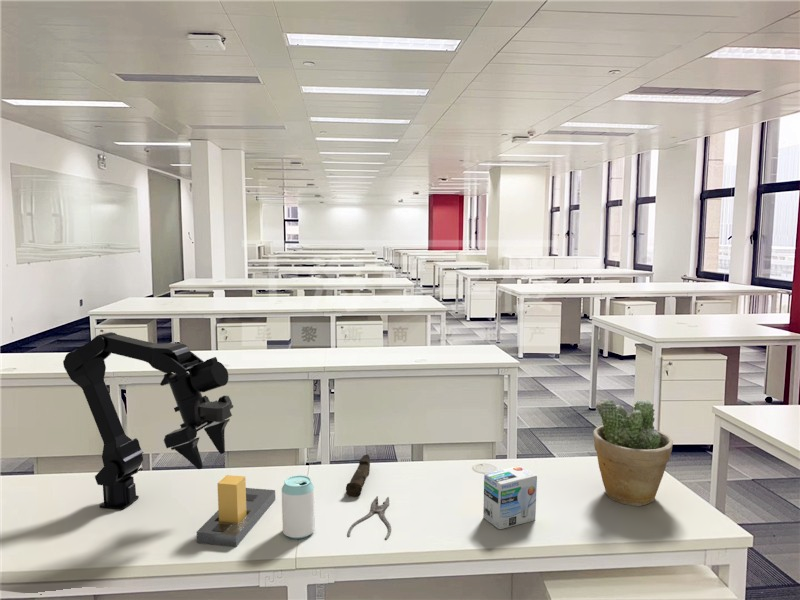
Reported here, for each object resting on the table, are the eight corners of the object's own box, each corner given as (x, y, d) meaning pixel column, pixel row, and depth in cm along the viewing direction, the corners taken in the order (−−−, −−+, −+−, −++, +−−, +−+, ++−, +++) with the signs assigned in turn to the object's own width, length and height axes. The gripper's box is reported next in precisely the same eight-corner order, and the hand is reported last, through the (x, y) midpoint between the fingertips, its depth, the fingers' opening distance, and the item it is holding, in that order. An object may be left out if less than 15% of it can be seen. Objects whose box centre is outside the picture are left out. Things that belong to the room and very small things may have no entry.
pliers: (346, 539, 128) (350, 496, 147) (346, 543, 128) (350, 500, 148) (391, 538, 128) (389, 495, 148) (391, 541, 128) (389, 499, 148)
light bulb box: (499, 530, 132) (500, 484, 131) (481, 517, 138) (482, 473, 137) (537, 519, 137) (538, 475, 136) (518, 507, 143) (519, 464, 141)
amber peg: (219, 530, 132) (217, 483, 131) (228, 520, 137) (226, 475, 135) (238, 532, 131) (236, 484, 130) (246, 522, 136) (245, 476, 134)
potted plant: (628, 475, 161) (632, 385, 158) (687, 503, 145) (693, 404, 141) (575, 488, 153) (579, 394, 150) (632, 519, 137) (637, 415, 134)
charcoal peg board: (196, 542, 127) (196, 531, 127) (241, 496, 148) (240, 487, 148) (236, 546, 125) (236, 535, 125) (275, 499, 147) (275, 489, 147)
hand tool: (361, 498, 148) (361, 481, 147) (345, 497, 149) (345, 479, 148) (377, 468, 166) (377, 452, 166) (363, 467, 167) (363, 451, 167)
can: (316, 524, 135) (315, 473, 133) (312, 540, 128) (311, 487, 126) (285, 524, 135) (284, 473, 133) (280, 540, 128) (278, 487, 126)
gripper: (193, 399, 125) (218, 468, 126) (238, 377, 143) (260, 438, 144) (151, 413, 128) (176, 480, 129) (200, 390, 146) (222, 449, 147)
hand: (212, 460), depth 137 cm, fingers open, 9 cm apart
